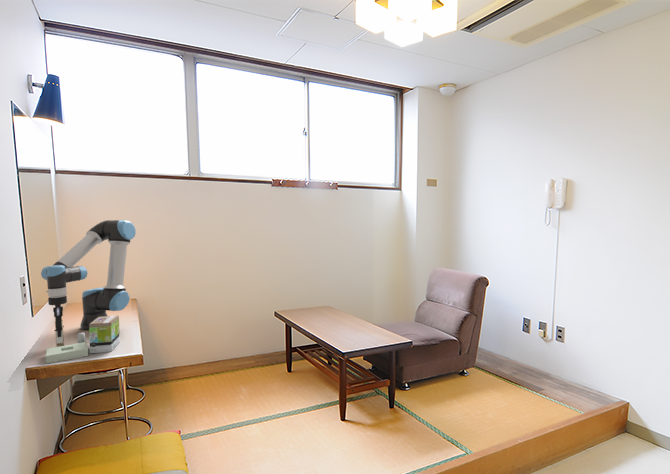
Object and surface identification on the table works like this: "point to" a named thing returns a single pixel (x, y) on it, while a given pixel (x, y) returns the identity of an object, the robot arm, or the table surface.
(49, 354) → the hole plate
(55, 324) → the long dowel
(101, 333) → the tea box
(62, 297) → the robot arm
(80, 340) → the short rod
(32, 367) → the table surface
